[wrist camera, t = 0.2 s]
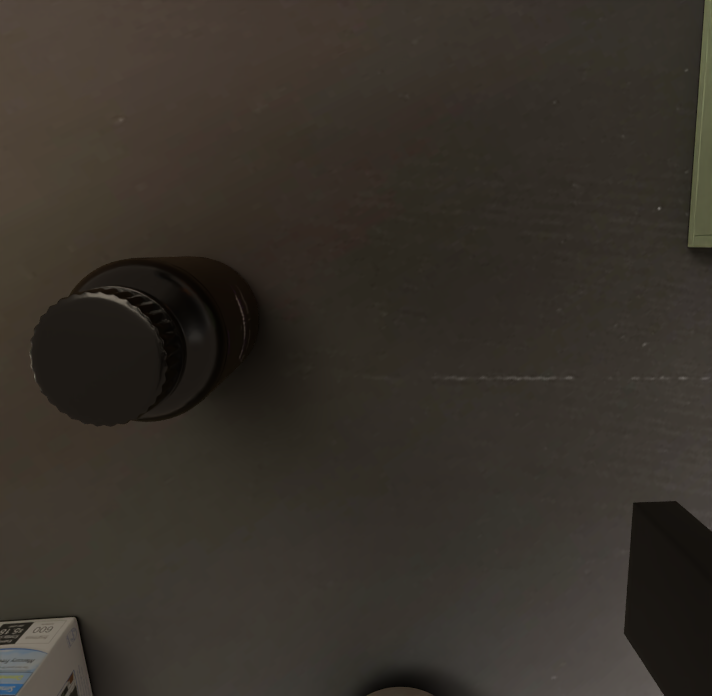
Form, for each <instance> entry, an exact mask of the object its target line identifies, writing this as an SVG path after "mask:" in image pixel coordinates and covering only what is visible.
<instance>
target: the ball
mask: <svg viewBox="0 0 712 696" xmlns="http://www.w3.org/2000/svg"><path fill="white" fill-rule="evenodd" d="M366 696H434V695H432V694H430V693H428V692H425V691H423V690H419V689H416V688H410V687H390V688H385V689H381V690H378V691H375V692H373V693H370V694H368V695H366Z"/></svg>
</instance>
